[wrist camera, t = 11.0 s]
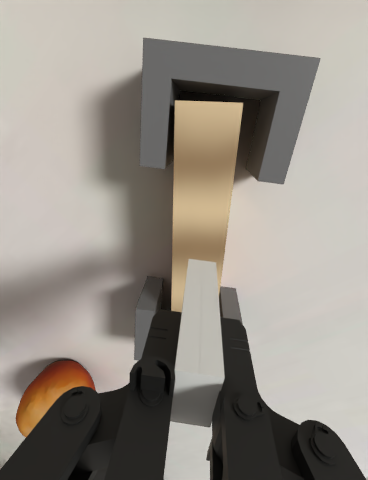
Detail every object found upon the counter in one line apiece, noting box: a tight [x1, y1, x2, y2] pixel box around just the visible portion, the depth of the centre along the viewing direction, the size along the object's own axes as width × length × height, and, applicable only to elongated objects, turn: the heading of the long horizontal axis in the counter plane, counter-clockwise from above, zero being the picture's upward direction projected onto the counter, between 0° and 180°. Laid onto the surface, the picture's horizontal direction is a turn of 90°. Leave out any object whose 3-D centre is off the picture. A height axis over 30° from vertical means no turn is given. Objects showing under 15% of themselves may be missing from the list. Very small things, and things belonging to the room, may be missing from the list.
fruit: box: [16, 360, 96, 437], centre depth 28 cm, size 8×8×8 cm
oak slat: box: [171, 100, 243, 312], centre depth 18 cm, size 18×4×5 cm, turn 178°
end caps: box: [134, 38, 320, 360], centre depth 18 cm, size 23×8×4 cm, turn 174°
